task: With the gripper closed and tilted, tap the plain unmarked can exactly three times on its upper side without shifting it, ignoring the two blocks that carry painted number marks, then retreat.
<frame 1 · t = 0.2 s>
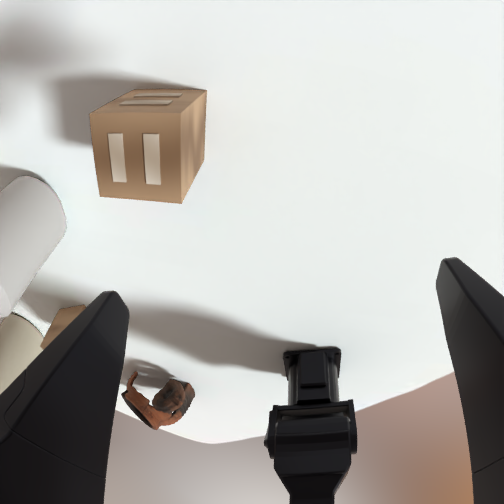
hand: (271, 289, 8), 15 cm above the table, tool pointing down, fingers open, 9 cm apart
travel mug: (26, 328, 40), on the table
can: (41, 205, 25), on the table
marked block 1: (169, 124, 20), on the table
marked block 2: (83, 320, 35), on the table
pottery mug: (166, 380, 43), on the table
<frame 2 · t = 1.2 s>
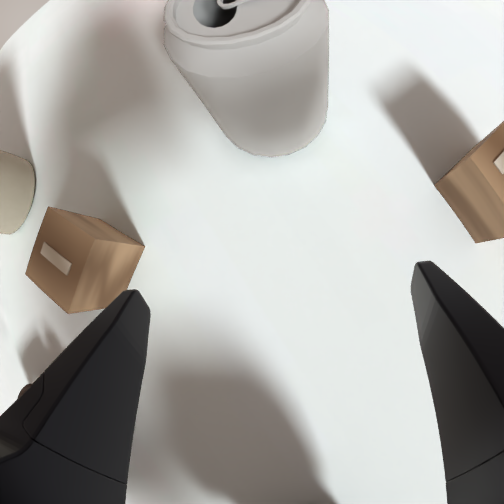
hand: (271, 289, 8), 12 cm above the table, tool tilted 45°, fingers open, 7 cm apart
travel mug: (16, 196, 26), on the table
can: (274, 114, 21), on the table
marked block 1: (476, 193, 18), on the table
marked block 2: (108, 261, 23), on the table
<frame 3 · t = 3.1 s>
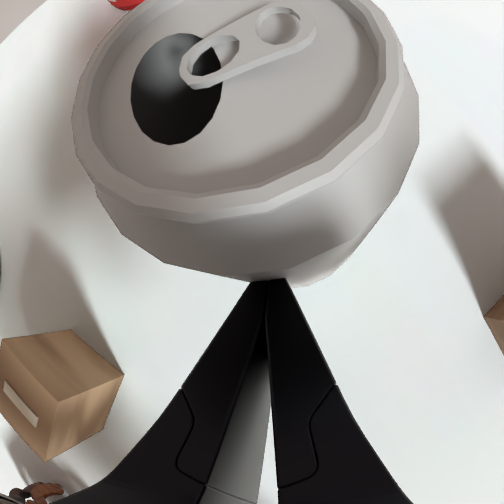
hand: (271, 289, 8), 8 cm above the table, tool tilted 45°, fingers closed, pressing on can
can: (287, 214, 16), on the table, touching gripper
marked block 2: (85, 380, 18), on the table
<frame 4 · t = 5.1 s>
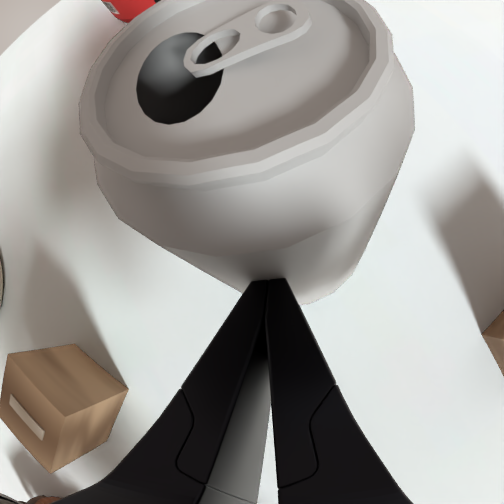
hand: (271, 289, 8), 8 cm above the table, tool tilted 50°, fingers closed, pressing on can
can: (290, 234, 16), on the table, touching gripper
marked block 2: (89, 393, 18), on the table
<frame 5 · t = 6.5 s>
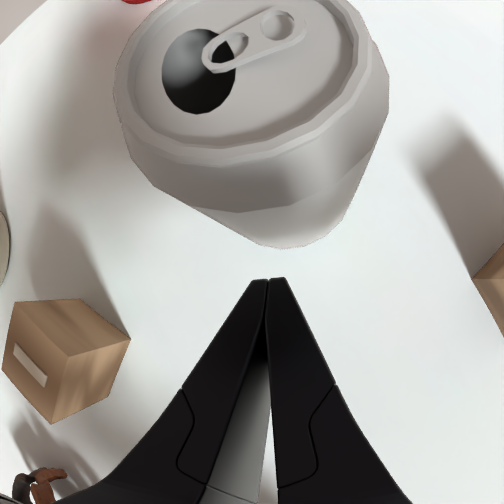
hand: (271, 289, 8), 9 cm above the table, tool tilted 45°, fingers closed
can: (285, 184, 18), on the table
marked block 2: (92, 348, 19), on the table
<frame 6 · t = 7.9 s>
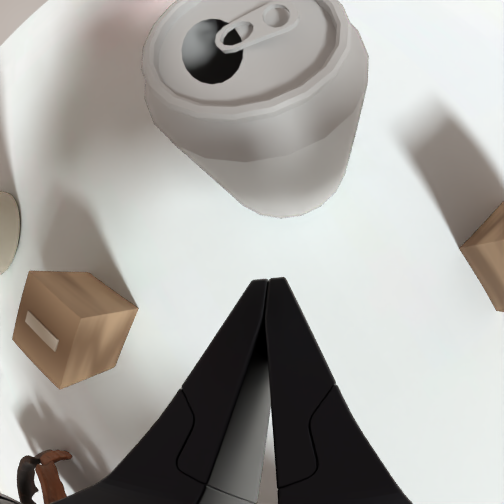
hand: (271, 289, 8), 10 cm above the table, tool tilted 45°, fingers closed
travel mug: (2, 233, 24), on the table
can: (284, 161, 19), on the table
marked block 1: (501, 255, 16), on the table
marked block 2: (100, 319, 21), on the table
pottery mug: (91, 490, 21), on the table
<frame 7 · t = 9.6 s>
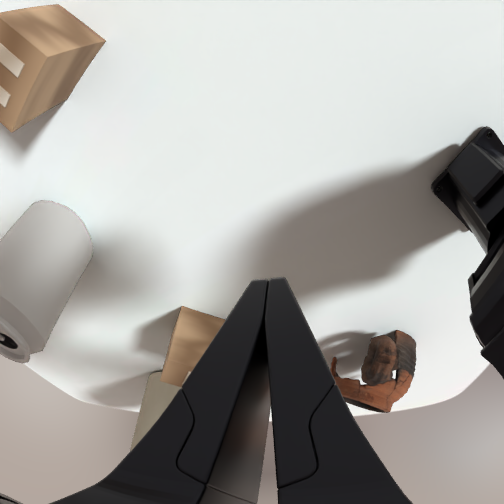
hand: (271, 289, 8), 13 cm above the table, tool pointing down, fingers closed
travel mug: (177, 381, 42), on the table
can: (63, 228, 25), on the table
marked block 1: (61, 51, 15), on the table
marked block 2: (200, 327, 32), on the table
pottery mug: (373, 345, 33), on the table
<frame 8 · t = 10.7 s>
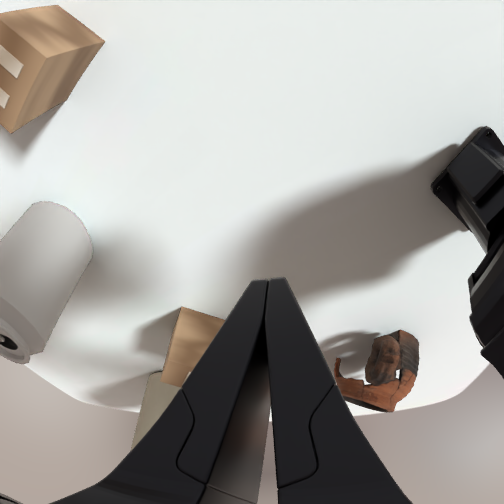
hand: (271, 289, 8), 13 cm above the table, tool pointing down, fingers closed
travel mug: (177, 382, 42), on the table
can: (62, 229, 25), on the table
marked block 1: (60, 52, 15), on the table
marked block 2: (200, 327, 32), on the table
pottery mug: (376, 346, 33), on the table
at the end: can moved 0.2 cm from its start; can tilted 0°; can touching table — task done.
